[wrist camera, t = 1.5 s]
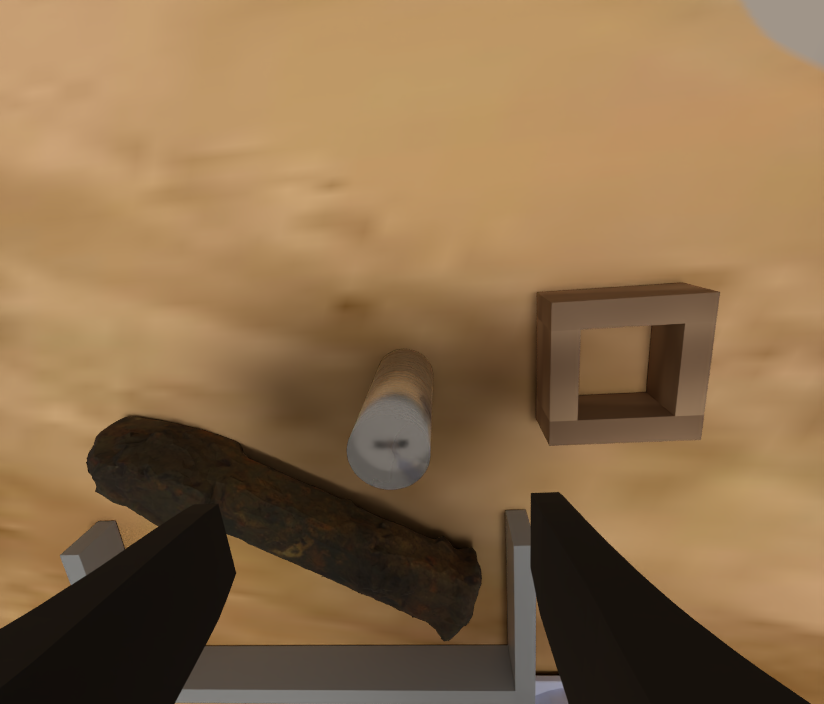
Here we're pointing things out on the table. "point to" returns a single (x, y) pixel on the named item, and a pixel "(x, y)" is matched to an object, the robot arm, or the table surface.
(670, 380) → the hollow square frame
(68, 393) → the table surface
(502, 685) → the u-shaped frame
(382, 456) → the rod
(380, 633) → the table surface
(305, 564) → the hand tool
